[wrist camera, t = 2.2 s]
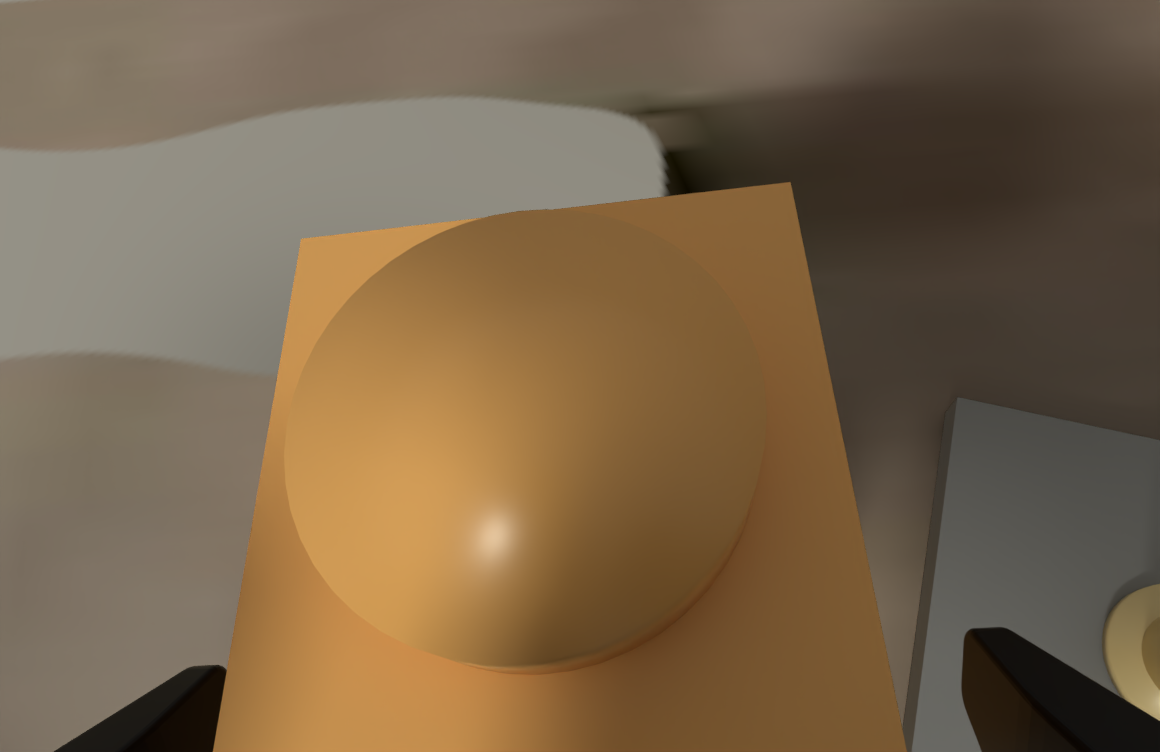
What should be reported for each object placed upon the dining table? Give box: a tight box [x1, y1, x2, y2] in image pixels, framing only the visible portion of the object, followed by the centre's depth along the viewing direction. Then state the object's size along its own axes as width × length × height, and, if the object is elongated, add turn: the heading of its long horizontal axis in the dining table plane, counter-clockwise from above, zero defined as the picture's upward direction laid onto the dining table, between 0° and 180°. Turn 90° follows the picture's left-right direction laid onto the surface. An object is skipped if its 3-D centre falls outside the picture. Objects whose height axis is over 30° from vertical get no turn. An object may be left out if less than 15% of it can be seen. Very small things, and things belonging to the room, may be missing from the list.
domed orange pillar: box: [213, 182, 907, 752], centre depth 12 cm, size 6×6×13 cm
